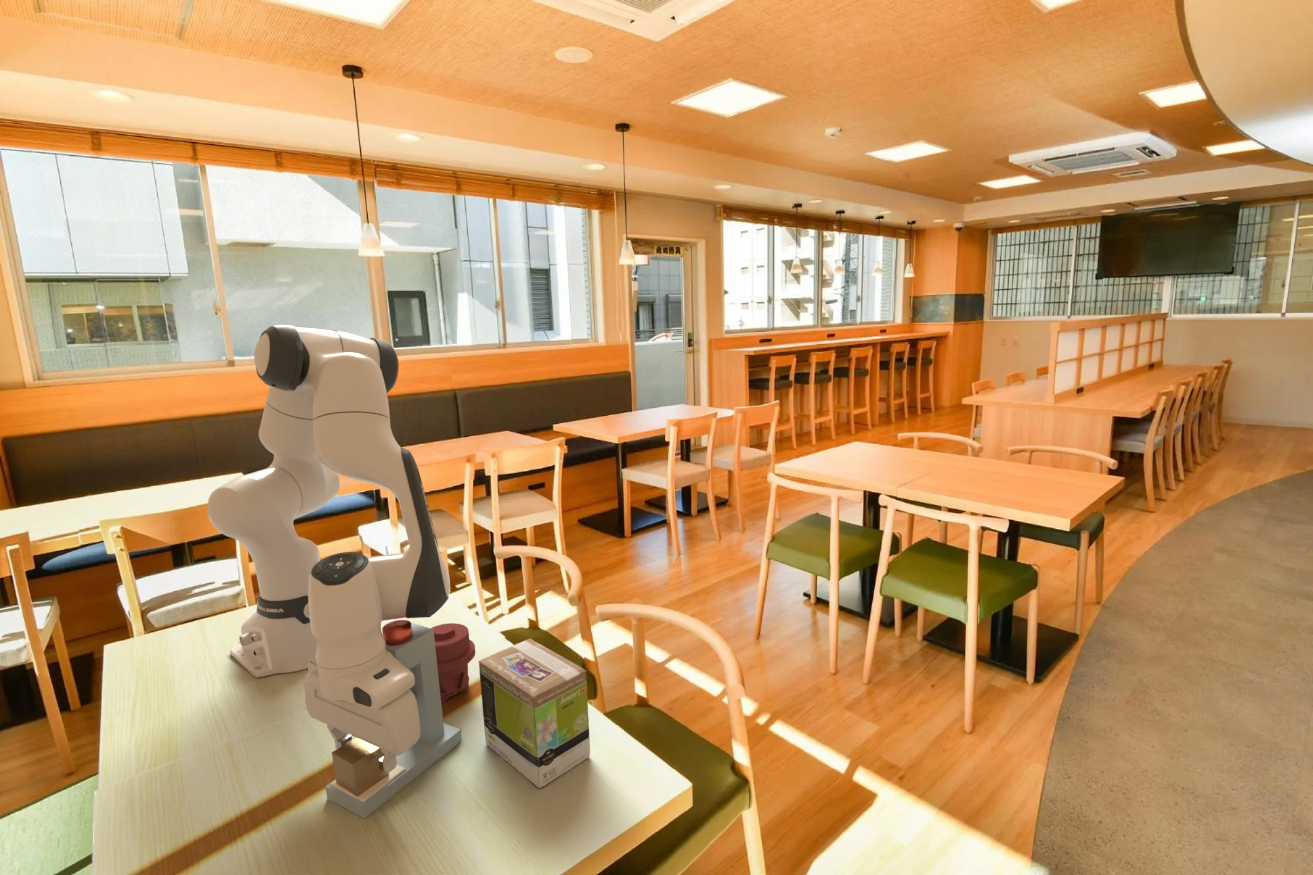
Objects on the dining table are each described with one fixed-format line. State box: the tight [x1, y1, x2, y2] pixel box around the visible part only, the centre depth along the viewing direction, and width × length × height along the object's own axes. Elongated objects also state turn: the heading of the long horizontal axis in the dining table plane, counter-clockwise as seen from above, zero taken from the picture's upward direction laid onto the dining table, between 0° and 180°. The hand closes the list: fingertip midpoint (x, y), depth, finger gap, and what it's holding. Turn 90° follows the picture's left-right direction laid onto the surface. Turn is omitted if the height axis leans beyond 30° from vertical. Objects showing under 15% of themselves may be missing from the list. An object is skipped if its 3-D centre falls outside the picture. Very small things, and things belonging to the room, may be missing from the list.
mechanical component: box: [430, 622, 476, 703], centre depth 116 cm, size 12×10×10 cm
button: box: [381, 619, 415, 696], centre depth 97 cm, size 4×4×12 cm
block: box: [331, 737, 389, 797], centre depth 92 cm, size 5×5×5 cm
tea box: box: [478, 638, 591, 789], centre depth 100 cm, size 15×10×15 cm
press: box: [324, 622, 463, 819], centre depth 96 cm, size 8×18×20 cm, turn 151°
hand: (366, 758), depth 93 cm, fingers open, 8 cm apart
